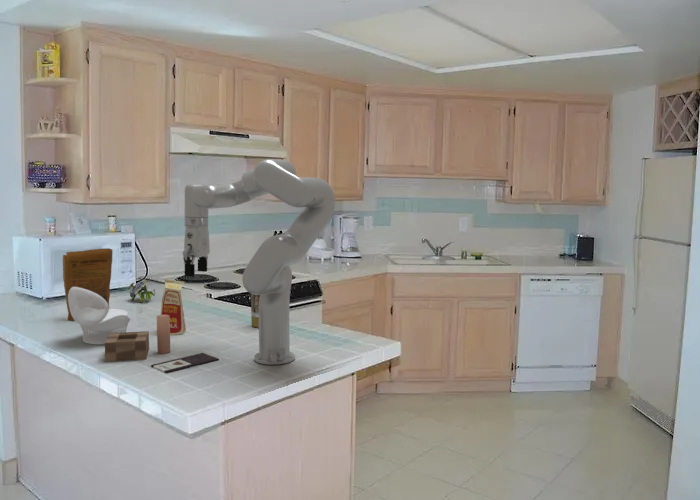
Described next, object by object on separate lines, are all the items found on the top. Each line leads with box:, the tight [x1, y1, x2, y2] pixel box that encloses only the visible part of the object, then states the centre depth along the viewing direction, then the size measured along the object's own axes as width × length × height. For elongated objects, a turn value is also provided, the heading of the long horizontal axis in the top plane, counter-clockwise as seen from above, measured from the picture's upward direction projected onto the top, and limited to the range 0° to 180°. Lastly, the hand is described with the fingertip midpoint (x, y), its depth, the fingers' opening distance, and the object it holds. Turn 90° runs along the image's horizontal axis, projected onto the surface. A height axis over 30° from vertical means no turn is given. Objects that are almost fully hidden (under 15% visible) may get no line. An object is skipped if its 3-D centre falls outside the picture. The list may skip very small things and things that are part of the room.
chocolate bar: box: [150, 352, 220, 374], centre depth 187 cm, size 9×1×18 cm
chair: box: [68, 287, 131, 345], centre depth 211 cm, size 20×20×20 cm
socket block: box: [104, 330, 150, 363], centre depth 194 cm, size 12×12×6 cm
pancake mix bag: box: [62, 247, 113, 322], centre depth 242 cm, size 7×19×28 cm, turn 125°
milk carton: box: [160, 278, 187, 336], centre depth 223 cm, size 9×9×20 cm
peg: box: [156, 314, 172, 355], centre depth 198 cm, size 4×4×12 cm
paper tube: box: [250, 293, 260, 328], centre depth 232 cm, size 7×7×25 cm
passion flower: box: [127, 278, 156, 304], centre depth 278 cm, size 11×11×12 cm
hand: (196, 273), depth 201 cm, fingers open, 9 cm apart
